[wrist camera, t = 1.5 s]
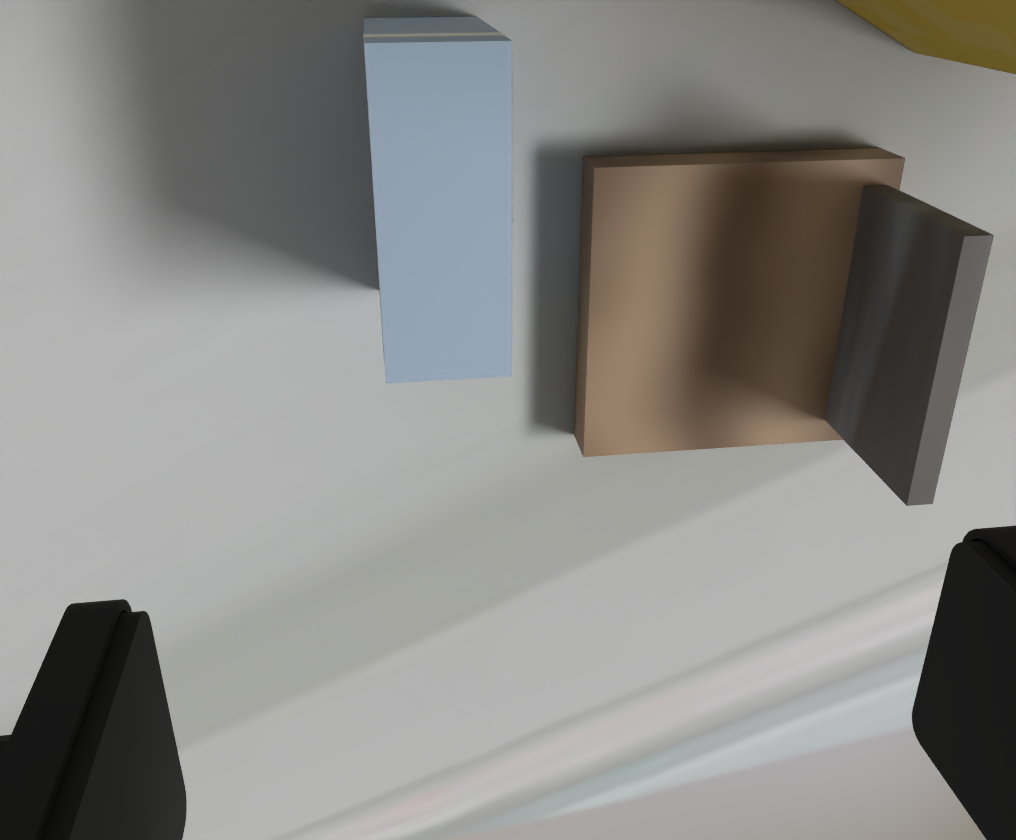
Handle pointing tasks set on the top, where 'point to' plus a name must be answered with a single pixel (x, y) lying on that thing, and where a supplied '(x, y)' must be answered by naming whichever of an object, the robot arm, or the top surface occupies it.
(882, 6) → the book
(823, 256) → the brown l-shaped piece
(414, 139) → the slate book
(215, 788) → the top surface
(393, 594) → the top surface
